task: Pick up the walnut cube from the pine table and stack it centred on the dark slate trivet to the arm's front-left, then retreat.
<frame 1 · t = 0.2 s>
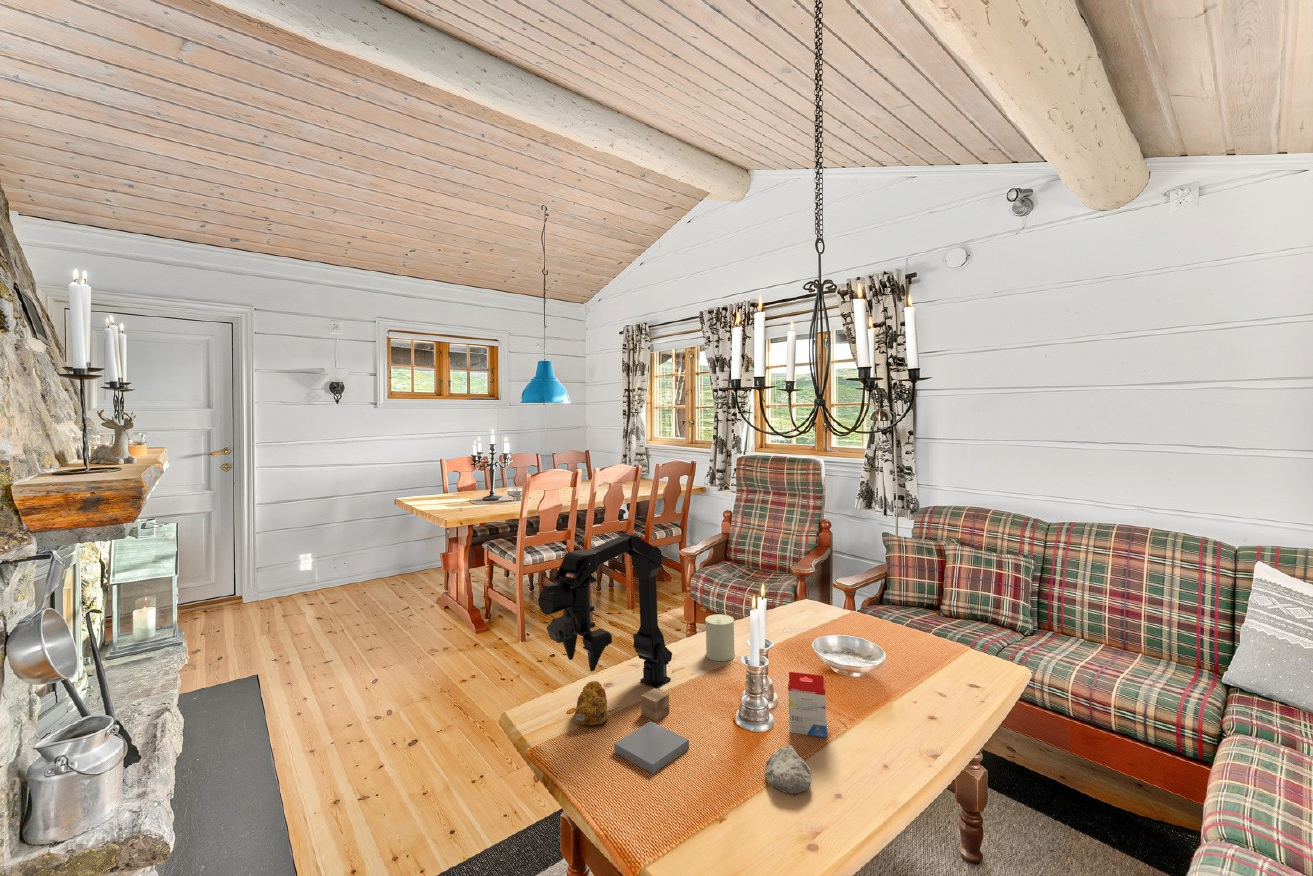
hand: (581, 665, 137), 14 cm above the table, fingers open, 9 cm apart
walnut cube: (655, 714, 140), on the table
rock: (591, 717, 140), on the table
ink box: (808, 731, 131), on the table
pale green cylinder: (720, 655, 174), on the table
decorative stone: (787, 780, 114), on the table
slate trivet: (651, 750, 124), on the table
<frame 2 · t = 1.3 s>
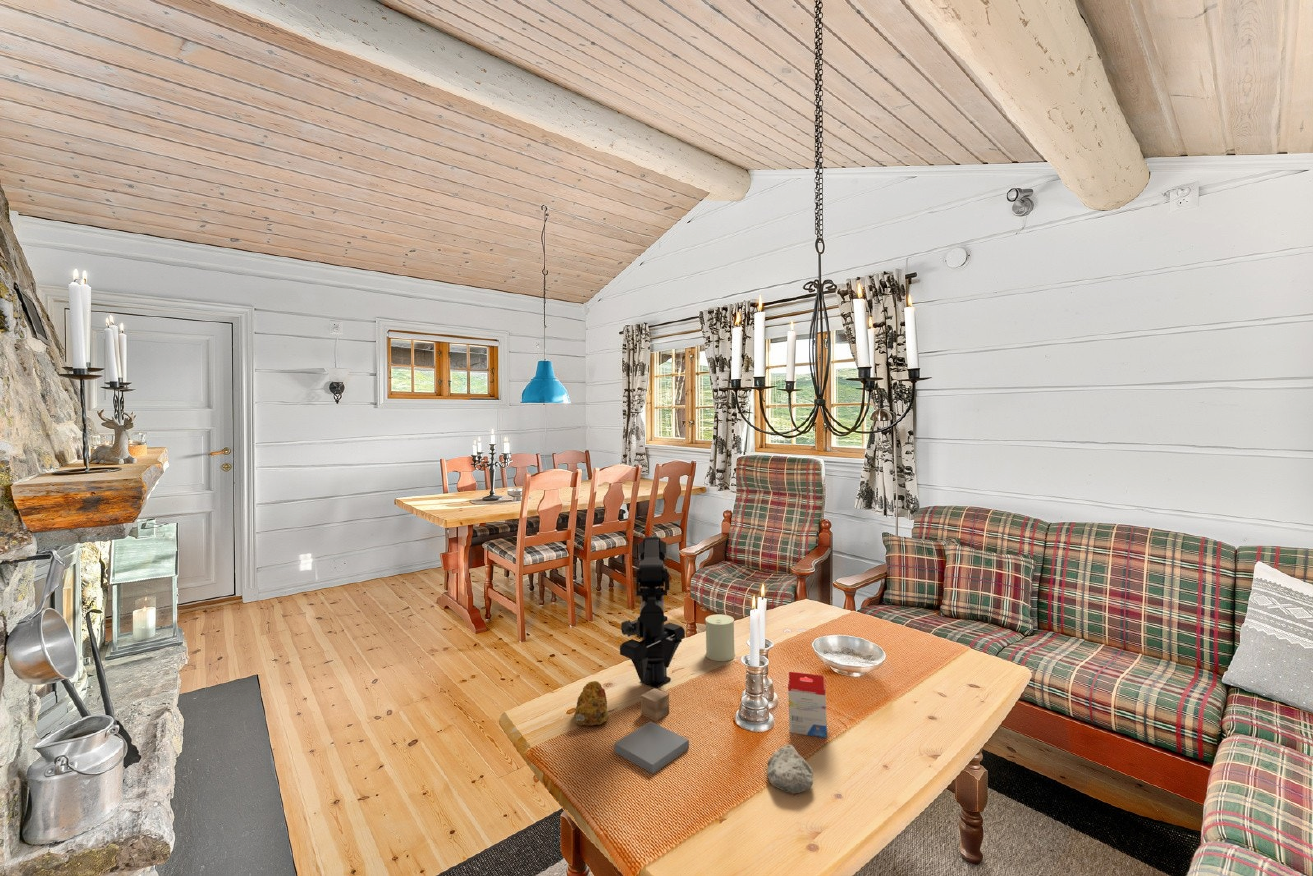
hand: (654, 673, 140), 10 cm above the table, fingers open, 9 cm apart
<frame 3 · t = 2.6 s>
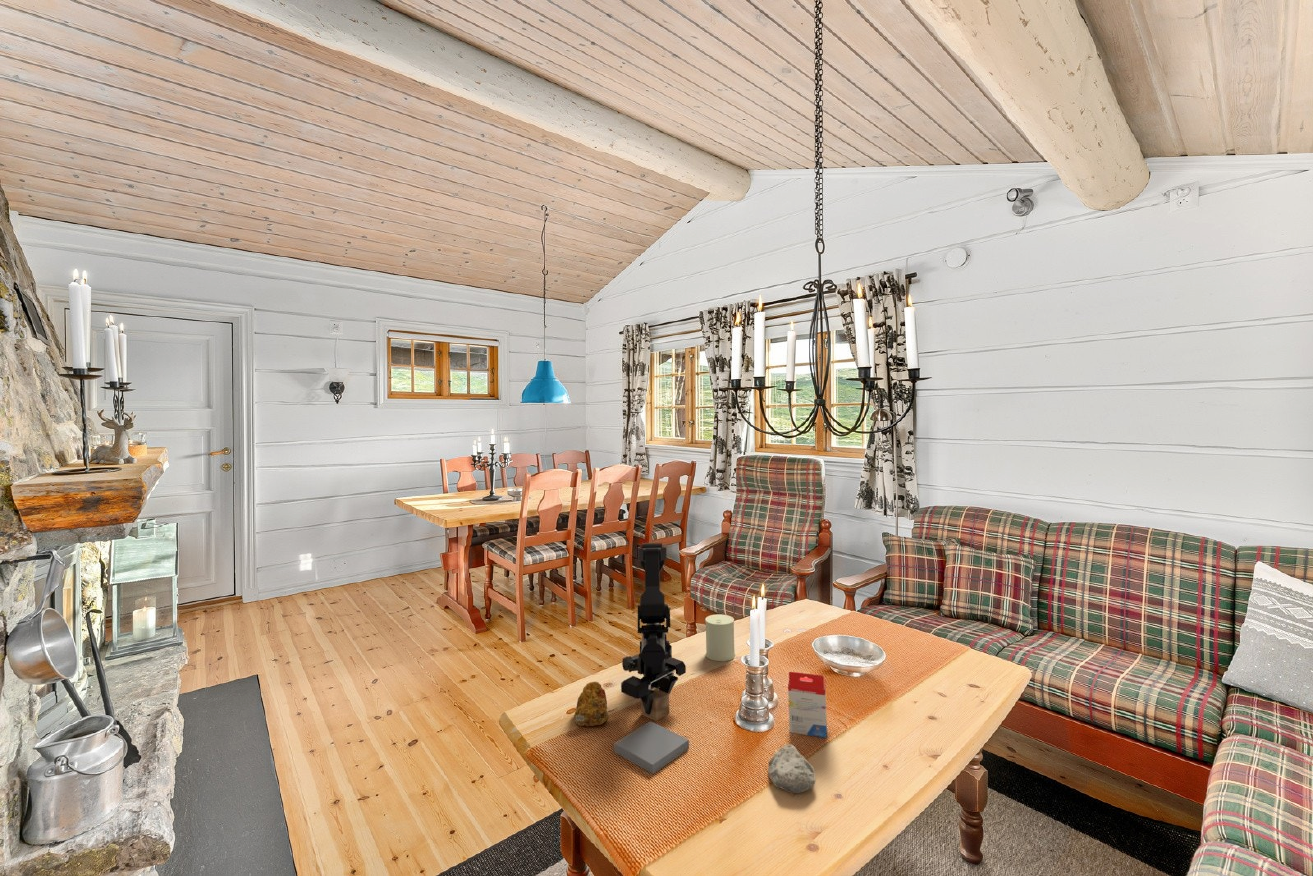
hand: (655, 709, 140), 1 cm above the table, fingers closed on walnut cube, 5 cm apart
walnut cube: (655, 713, 140), on the table, touching gripper
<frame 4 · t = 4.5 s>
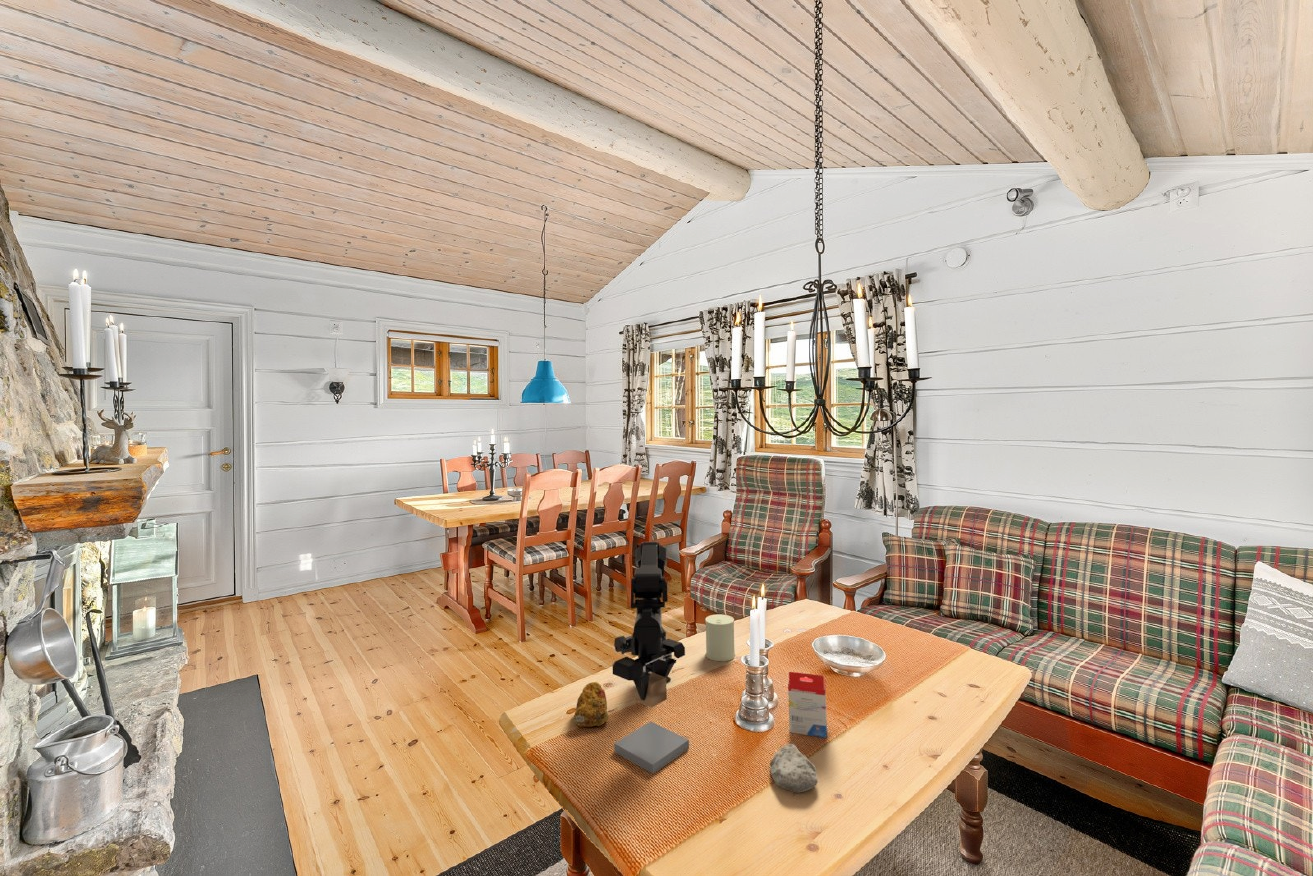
hand: (651, 695, 126), 12 cm above the table, fingers closed on walnut cube, 5 cm apart
walnut cube: (651, 700, 126), point 11 cm above the table, touching gripper
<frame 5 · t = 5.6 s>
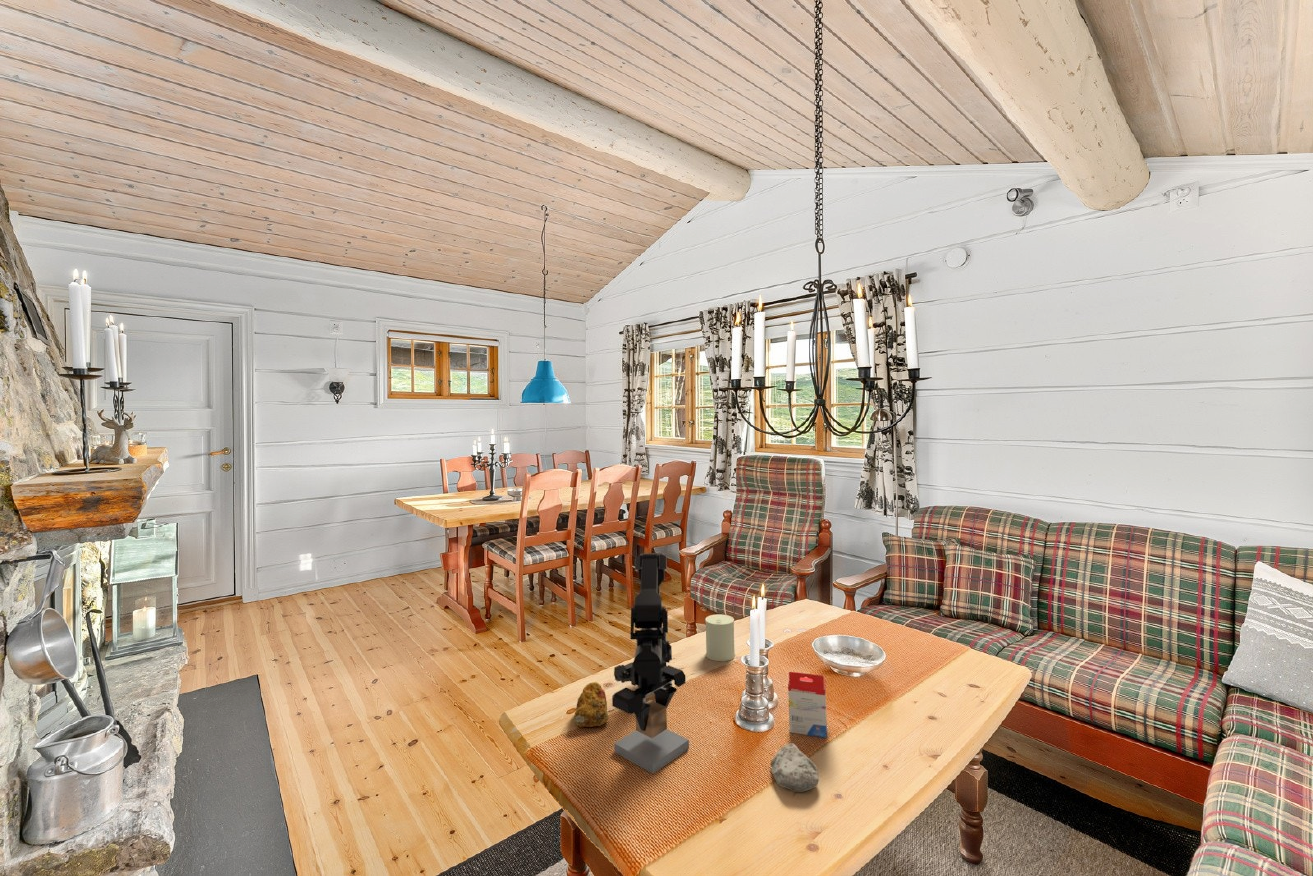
hand: (651, 725, 124), 6 cm above the table, fingers closed on walnut cube, 5 cm apart
walnut cube: (651, 729, 124), point 5 cm above the table, touching gripper
when the fingers open (4 cm above the table, at t = 6.2 s): walnut cube drops 1 cm, resting on slate trivet.
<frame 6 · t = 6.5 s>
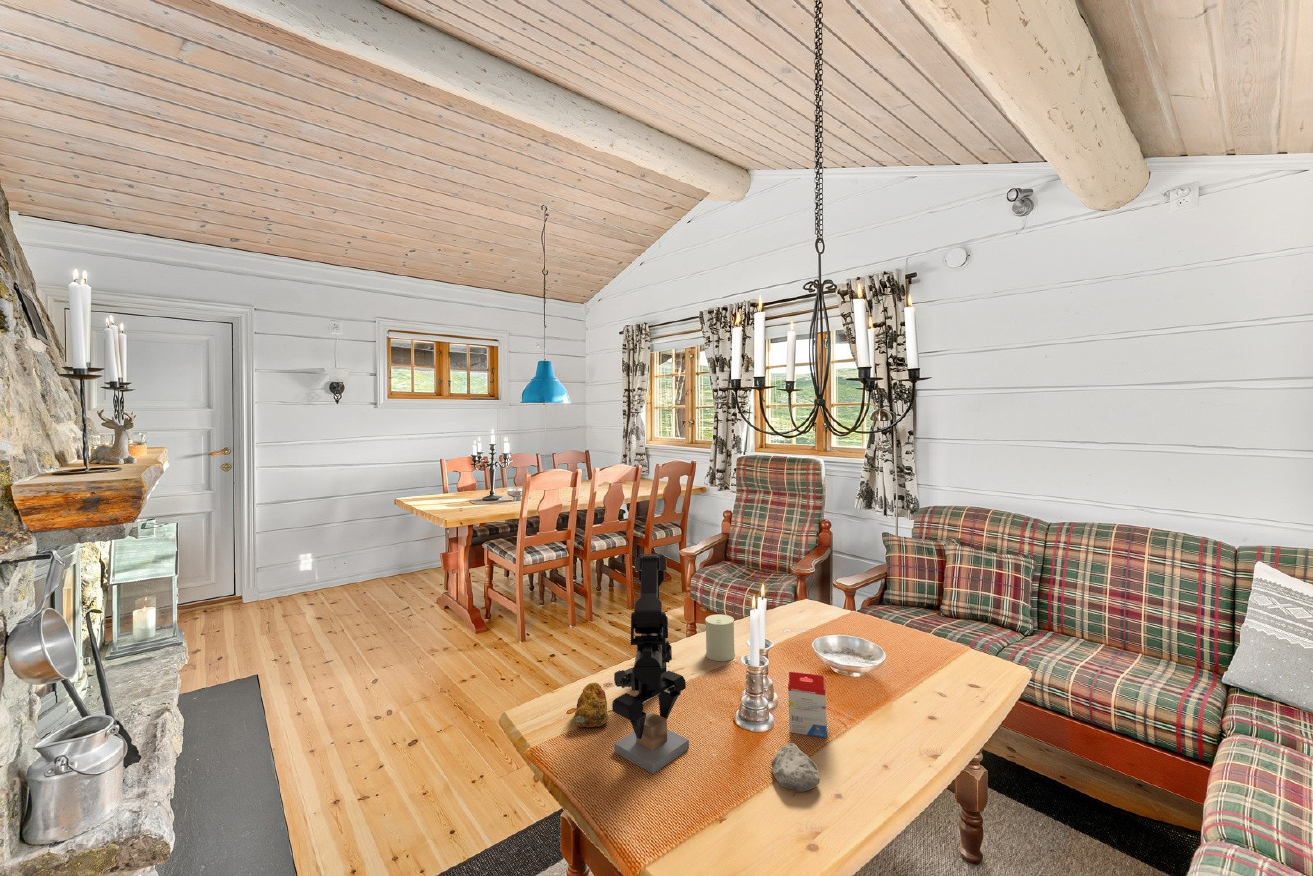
hand: (651, 730, 124), 4 cm above the table, fingers open, 8 cm apart
walnut cube: (651, 741, 124), point 2 cm above the table, touching slate trivet
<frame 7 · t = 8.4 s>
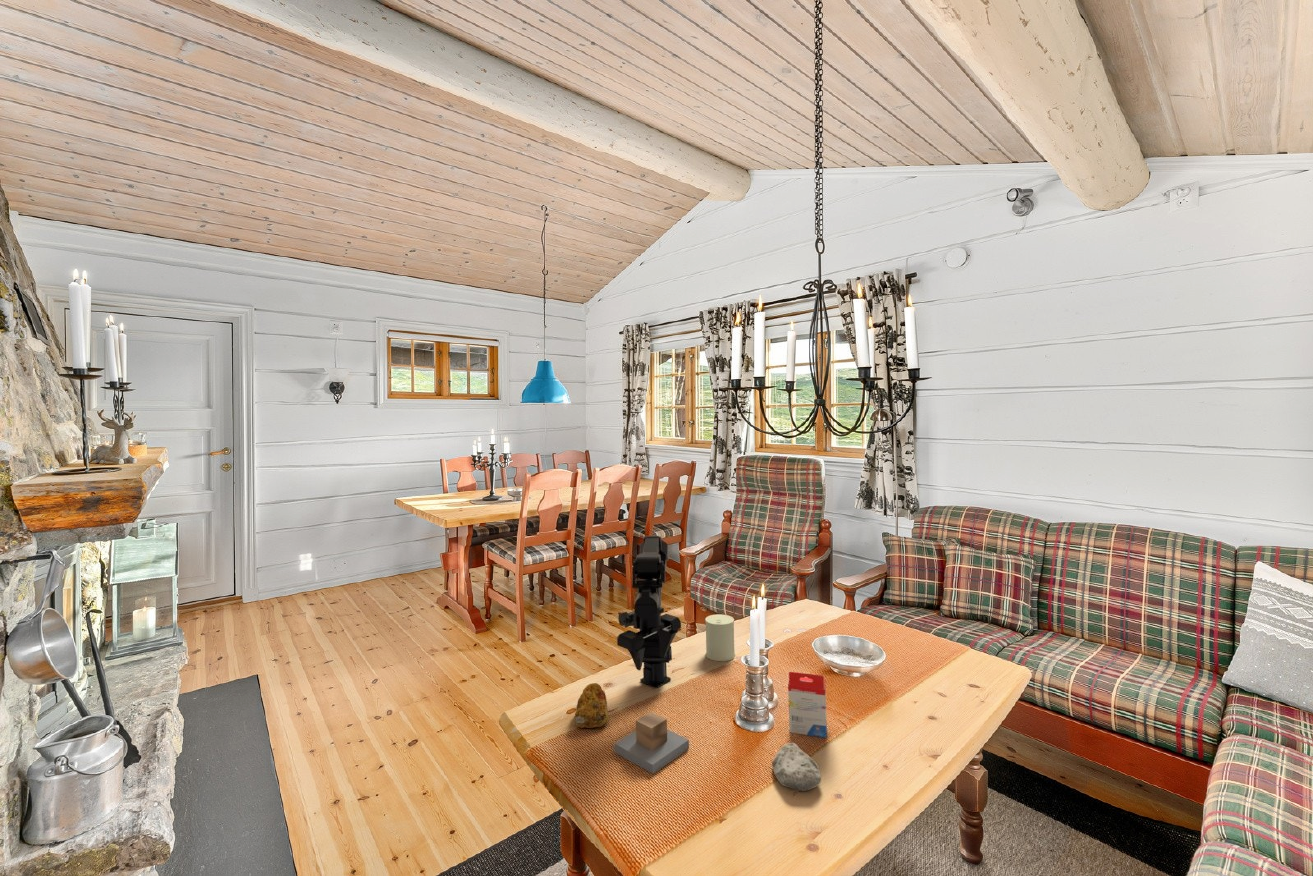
hand: (651, 663, 143), 12 cm above the table, fingers open, 9 cm apart
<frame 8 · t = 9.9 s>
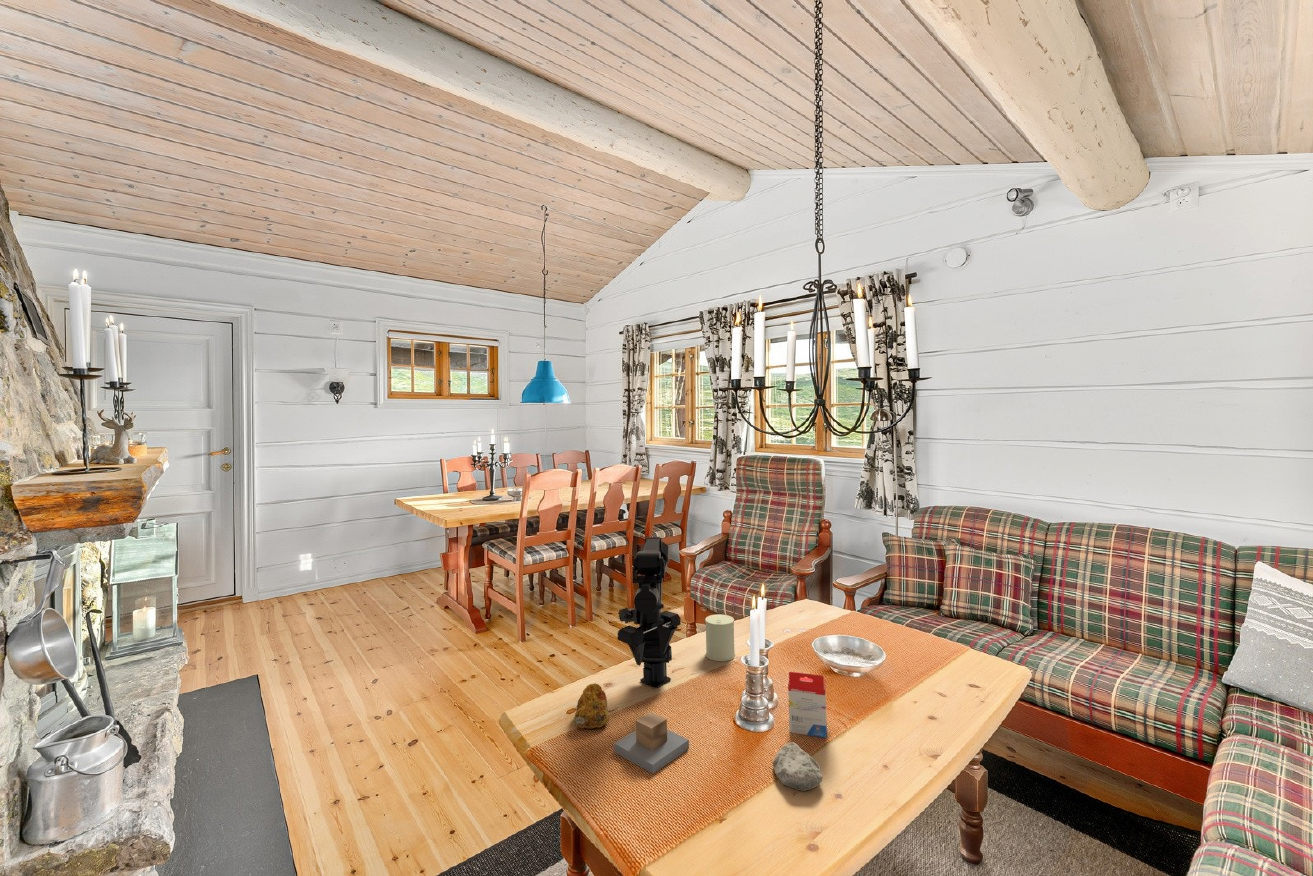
hand: (650, 659, 145), 12 cm above the table, fingers open, 9 cm apart
at the end: walnut cube inside the target area on the slate trivet (0.0 cm from its centre), point 2.0 cm above the slate trivet's base; walnut cube tilted 0°; the gripper is holding nothing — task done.
